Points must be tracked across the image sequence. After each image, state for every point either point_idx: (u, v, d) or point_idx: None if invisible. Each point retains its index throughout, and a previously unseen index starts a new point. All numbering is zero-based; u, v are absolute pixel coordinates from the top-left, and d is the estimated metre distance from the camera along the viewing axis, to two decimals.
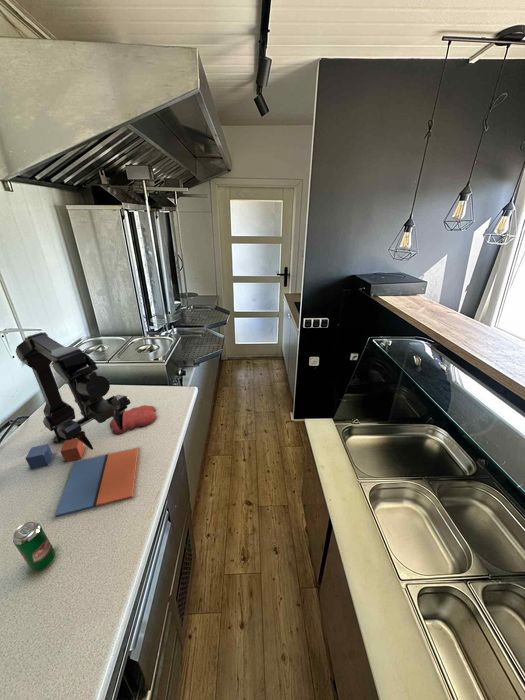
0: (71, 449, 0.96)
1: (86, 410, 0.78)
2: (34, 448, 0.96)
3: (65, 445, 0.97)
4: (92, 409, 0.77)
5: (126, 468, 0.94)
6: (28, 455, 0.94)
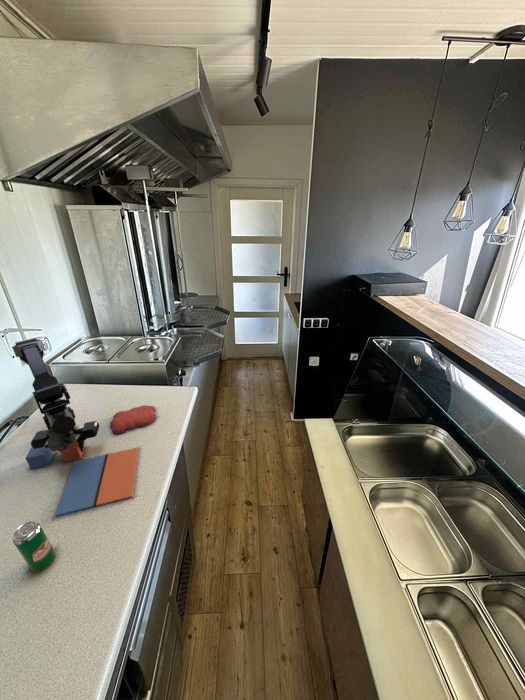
0: (71, 449, 0.96)
1: (50, 433, 0.91)
2: None
3: None
4: (50, 437, 0.89)
5: (126, 468, 0.94)
6: (28, 455, 0.94)
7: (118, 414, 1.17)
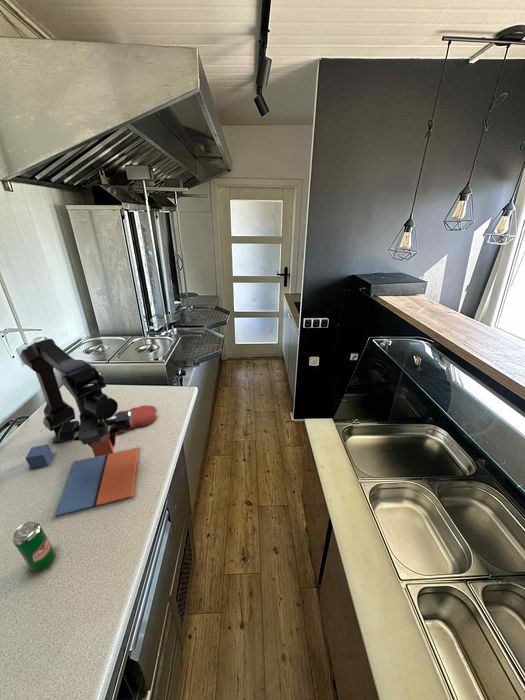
0: (102, 442, 0.84)
1: (80, 424, 0.79)
2: (34, 448, 0.96)
3: None
4: (81, 428, 0.77)
5: (126, 468, 0.94)
6: (28, 455, 0.94)
7: None
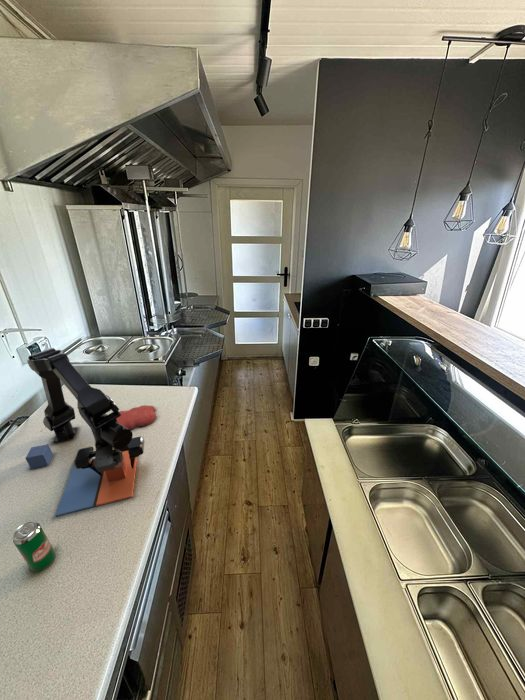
0: (116, 468, 0.88)
1: (96, 452, 0.83)
2: (34, 448, 0.96)
3: None
4: (96, 456, 0.81)
5: None
6: (28, 455, 0.94)
7: None
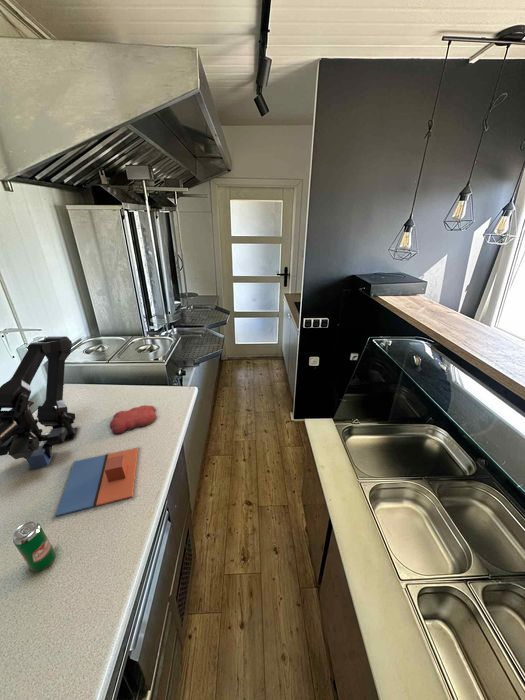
0: (116, 468, 0.88)
1: None
2: None
3: (109, 463, 0.89)
4: (12, 445, 0.87)
5: None
6: None
7: (118, 414, 1.17)
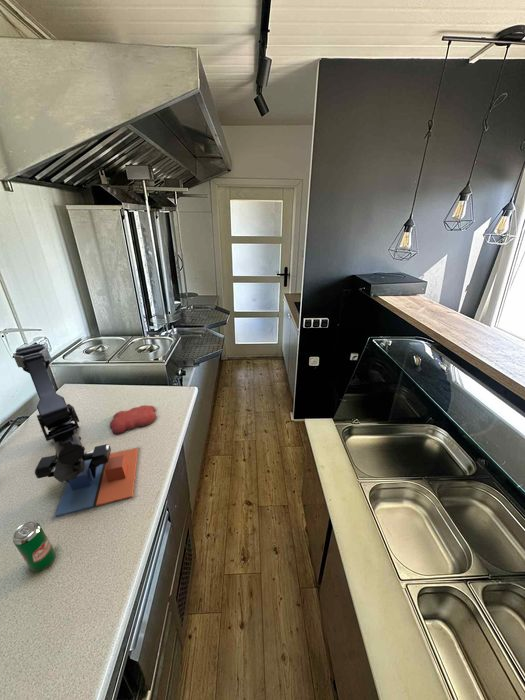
0: (116, 468, 0.88)
1: (57, 461, 0.80)
2: None
3: (109, 463, 0.89)
4: (57, 466, 0.78)
5: None
6: None
7: (118, 414, 1.17)
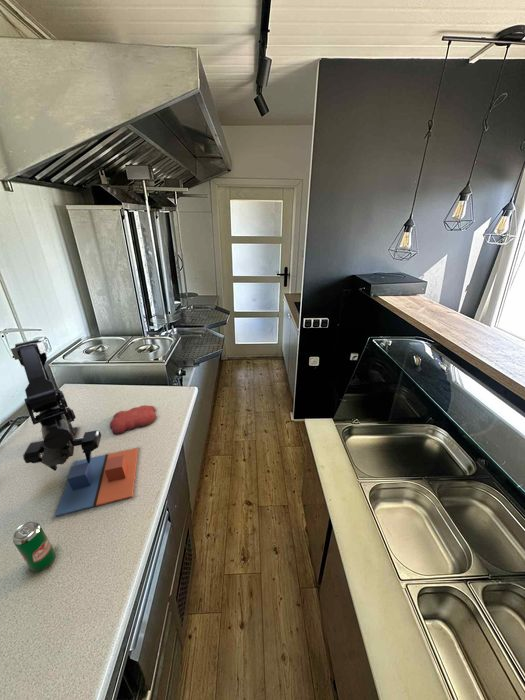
0: (116, 468, 0.88)
1: (46, 446, 0.80)
2: (74, 467, 0.88)
3: (109, 463, 0.89)
4: (45, 451, 0.78)
5: None
6: (69, 476, 0.85)
7: (118, 414, 1.17)
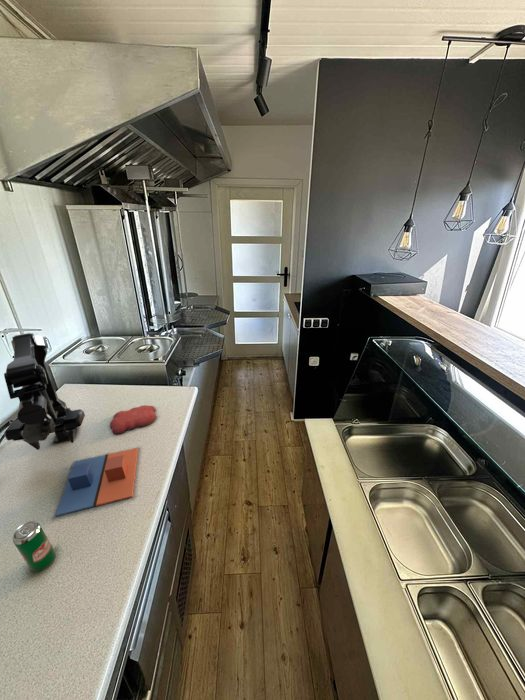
0: (116, 468, 0.88)
1: None
2: (75, 467, 0.88)
3: (109, 463, 0.89)
4: (26, 427, 0.77)
5: None
6: (70, 476, 0.85)
7: (118, 414, 1.17)
